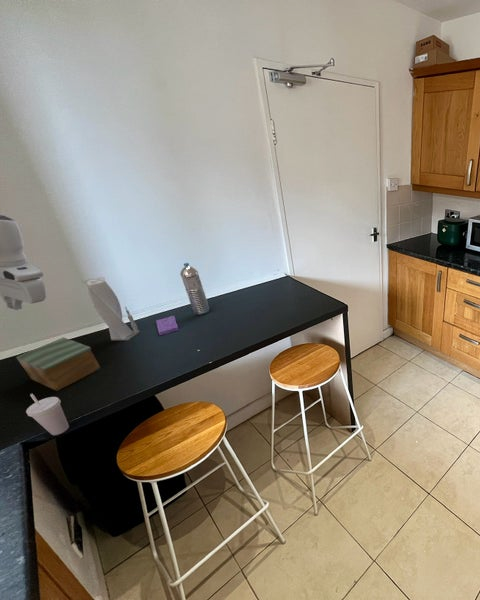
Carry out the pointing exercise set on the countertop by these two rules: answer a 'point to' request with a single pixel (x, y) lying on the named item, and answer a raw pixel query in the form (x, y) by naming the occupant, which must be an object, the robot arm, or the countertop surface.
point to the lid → (53, 353)
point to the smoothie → (49, 414)
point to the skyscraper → (110, 309)
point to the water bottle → (194, 290)
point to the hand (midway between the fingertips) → (14, 308)
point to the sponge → (167, 325)
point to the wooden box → (63, 371)
